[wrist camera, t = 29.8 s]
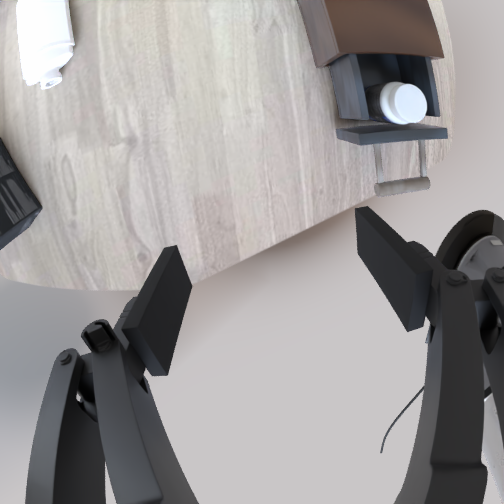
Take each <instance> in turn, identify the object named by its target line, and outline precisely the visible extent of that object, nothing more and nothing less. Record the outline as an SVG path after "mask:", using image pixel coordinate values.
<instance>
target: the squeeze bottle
mask: <svg viewBox="0 0 504 504" xmlns="http://www.w3.org/2000/svg"><path fill="white" fill-rule="evenodd" d="M16 11H17V29H18V40H19V49H20V60H21V66H22V73H23V79H26V84H27V85H33V84H35V83H37V82H39V81H40V86H41V89H47V88H50V87H53V86H55V85H56V84H58V83H59V82H60V81H61V80H62V76H61V73H60V72H59V69H60V68H62V67H63V66H64V65H65V64H66V63H67V62H68V61H69V59H70V58H71V57H72V55H73V54H74V53H73V47H72V46H74V45H75V42H74V37H73V32H72V26H71V25H72V24H71V20H70V19H71V18H70V11H69V2H68V0H19V1H18V3H17V6H16Z"/></svg>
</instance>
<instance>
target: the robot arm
mask: <svg viewBox="0 0 504 504" xmlns="http://www.w3.org/2000/svg"><path fill="white" fill-rule="evenodd" d="M355 218H356V232H357V250H358V255H359V256H360V258H361V259H362V261H363V262H364V264H365V265H366V266H367V268H368V270H369V271H370V273H371V274H372V276H373V277H374V279H375V280H376V282H377V283H378V285H379V286H380V288H381V289H382V291H383V293H384V294H385V296H386V298H387V299H388V301H389V302H390V304H391V306H392V307H393V309H394V310H395V312H396V314H397V315H398V317H399V318H400V321H401V322H402V324H403V326H404V327H405V329H406V331H407V332H409V331H412V330H415V329H418V328H421V327H423V325H424V321H425V316H426V317H427V318H428V320H429V321H430V326H429V330H428V334H427V338H426V342H425V343H428V352H427V366H426V376H425V385H424V386H423V387H422V389H421V390H420V391H419V392H418V393H417V394H416V396H415V397H414V398H413V399H412V400H411V401H410V402H409V404H408V405H407V406H406V407H405V408H404V409H403V411H402V412H401V413H400V414H399V415H398V417H397V418H396V419H395V420H394V422H393V423H392V425H391V426H390V428H389V429H388V431H387V433H386V435H385V437H384V440H383V443H382V447H381V452H380V453H382V451H383V446H384V442H385V439H386V437H387V435H388V433H389V431H390V429H391V428H392V426H393V425H394V424H395V422H396V421H397V420H398V419H399V417H400V416H401V415H402V414H403V413H404V411H405V410H406V409H407V408H408V407H409V406H410V405H411V403H412V402H413V401H414V400H415V399H416V398H417V397H418V395H419V394H420V393H421V392H422V391H423V390H424V394H423V400H422V407H421V413H420V419H419V424H418V429H417V434H416V439H415V443H414V448H413V452H412V456H411V460H410V464H409V467H408V471H407V474H406V478H405V481H404V484H403V487H402V489H401V491H400V493H399V495H398V496H397V498H396V501H395V503H394V504H483V499H484V494H485V489H486V485H487V475H488V471H487V467H486V466H485V465H484V464H482V462H481V452H482V451H483V453H484V455H485V458H486V460H487V463H488V465H489V468H490V470H491V473H492V475H493V478H494V481H495V484H496V486H497V489H498V492H499V495H500V498H501V501H502V504H504V245H503V243H502V242H501V240H500V239H499V238H497V237H496V236H495V235H493V234H491V233H484V234H481V235H479V236H477V237H476V238H474V239H473V240H472V241H471V242H470V243H469V244H468V245H467V246H466V247H465V248H464V249H463V251H462V252H461V254H460V255H459V257H458V259H457V261H456V263H455V266H454V268H453V270H448V269H447V268H446V267H445V266H444V265H443V264H442V263H441V262H440V261H439V260H438V259H437V258H436V257H435V256H433V254H432V253H430V252H429V250H428V249H426V248H425V247H424V246H423V245H422V244H419V243H417V242H415V241H411V242H406V241H405V240H404V239H403V238H402V237H401V236H400V235H399V234H398V233H396V231H395V230H394V229H392V228H391V227H390V226H389V225H388V224H387V223H386V222H385V221H384V220H383V219H382V218H380V217H379V216H378V215H377V214H376V213H375V212H374V211H373V210H372V209H370V208H369V207H368V206H366V207H360V208H355ZM191 289H192V284H191V282H190V279H189V276H188V274H187V271H186V269H185V266H184V263H183V261H182V258H181V255H180V253H179V250H178V247H177V245H175V246H170V247H166V248H164V249H163V251H162V253H161V254H160V256H159V258H158V260H157V261H156V263H155V265H154V267H153V269H152V270H151V272H150V274H149V276H148V278H147V279H146V281H145V283H144V285H143V287H142V289H141V291H140V292H139V294H138V296H137V297H133V298H132V299H131V300H130V301H129V302H128V303H127V304H126V306H125V308H124V310H123V313H121V315H120V318H119V319H118V321H117V323H116V325H115V327H114V329H112V328H111V326H110V325H109V323H108V321H107V320H104V319H101V320H96V321H94V322H92V323H90V324H89V325H88V326H87V327H86V328H85V329H84V330H83V332H82V334H81V337H82V339H83V340H84V342H85V343H86V345H87V346H88V347H89V349H90V350H91V353H88V354H85V355H82V356H80V355H79V353H78V352H77V351H76V349H73V348H70V349H67V350H64V351H63V352H61V353H60V354H59V356H58V357H57V358H56V360H55V362H54V365H53V368H52V372H51V375H50V378H49V381H48V384H47V388H46V391H45V394H44V398H43V401H42V405H41V409H40V413H39V417H38V421H37V426H36V431H35V435H34V440H33V445H32V451H31V457H30V463H29V470H28V478H27V488H26V500H25V504H106V497H105V461H106V466H107V470H108V474H109V478H110V482H111V485H112V489H113V493H114V496H115V499H116V503H117V504H199V503H198V502H197V500H196V497H195V496H194V493H193V492H192V490H191V488H190V486H189V484H188V482H187V479H186V477H185V475H184V473H183V471H182V469H181V467H180V465H179V462H178V460H177V458H176V456H175V453H174V451H173V449H172V446H171V444H170V442H169V439H168V437H167V434H166V432H165V429H164V426H163V424H162V421H161V419H160V416H159V413H158V410H157V407H156V405H155V402H154V399H153V396H152V393H151V390H150V387H149V384H148V381H147V379H146V378H145V376H144V371H145V368H147V370H148V371H149V373H150V374H151V375H152V376H167V375H168V373H169V369H170V365H171V361H172V357H173V353H174V350H175V346H176V342H177V338H178V335H179V331H180V328H181V324H182V320H183V317H184V313H185V310H186V306H187V303H188V299H189V296H190V293H191ZM77 394H79V396H80V397H81V399H80V402H79V401H77V399H76V395H77Z"/></svg>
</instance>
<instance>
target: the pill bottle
mask: <svg viewBox="0 0 504 504" xmlns="http://www.w3.org/2000/svg"><path fill="white" fill-rule="evenodd" d="M364 92H365V98H366V103H367V109H368V115H369V119H371V120H373V121H377V122H384V123H392V124H399V125H404V124H408V123H416V122H419V121H421V120H422V119H423V118H424V116H425V114H426V111H427V102H426V99H425V96H424V94H423V93H422V91H421V90H420V89H419V88H417V87H416V86H414V85H412V84H404V83H401V82H389V83H382V84H376V85H371V86H368V87H367V88H365V89H364Z"/></svg>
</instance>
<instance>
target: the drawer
mask: <svg viewBox="0 0 504 504" xmlns="http://www.w3.org/2000/svg"><path fill="white" fill-rule="evenodd" d="M329 68H330V72H331V77H332V81H333V86H334V90H335V95H336V100H337V105H338V110H339V116H340V118H343V119H356V120H369V115H368V109H367V103H366V98H365V92H364V89H365V88H367V87H368V86H371V85H376V84H382V83H389V82H401V83H404V84H412V85H414V86H416V87H417V88H419V89H420V90H421V91H422V93H423V94H424V96H425V99H426V102H427V111H426V114H425V115H426V116H434V117H440V110H439V102H438V95H437V89H436V84H435V78H434V73H433V68H432V63H431V59H430V57H423V56H413V55H399V54H344V55H342V56H340V57H338V58H337V59H335V60H333V61H332V62H330V63H329ZM336 133H337V138H338V139H341V140H345V141H348V142H351V143H354V144H357V145H370V144H373V145H374V154H375V163H376V173H377V182H378V183H375V186H374V189H375V193H376V196H377V197H384V196H389V195H395V194H402V193H407V192H413V191H420V190H427V189H429V188H430V180H429V178H428V177H427V173H426V153H425V140H427V139H447V138H448V134H447V128H443V127H437V126H432V125H425V124H419V123H408V124H404V125H399V124H381V125H369V126H359V127H350V128H341V129H336ZM412 140H418V144H419V158H420V176H421V177H414V178H407V179H400V180H393V181H386V182H384V180H383V168H382V158H381V148H380V143H389V142H400V141H412Z"/></svg>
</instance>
